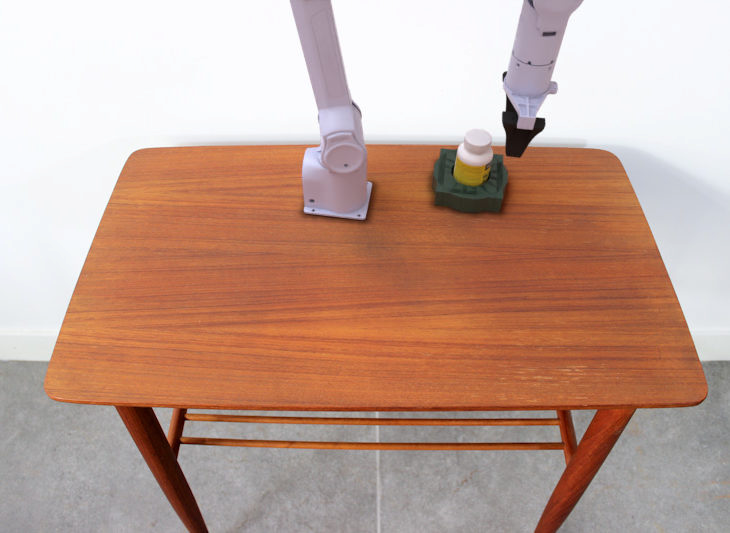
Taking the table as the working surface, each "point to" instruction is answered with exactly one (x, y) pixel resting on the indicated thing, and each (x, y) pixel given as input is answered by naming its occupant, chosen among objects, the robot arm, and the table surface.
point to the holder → (468, 196)
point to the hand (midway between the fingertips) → (513, 137)
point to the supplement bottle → (474, 158)
